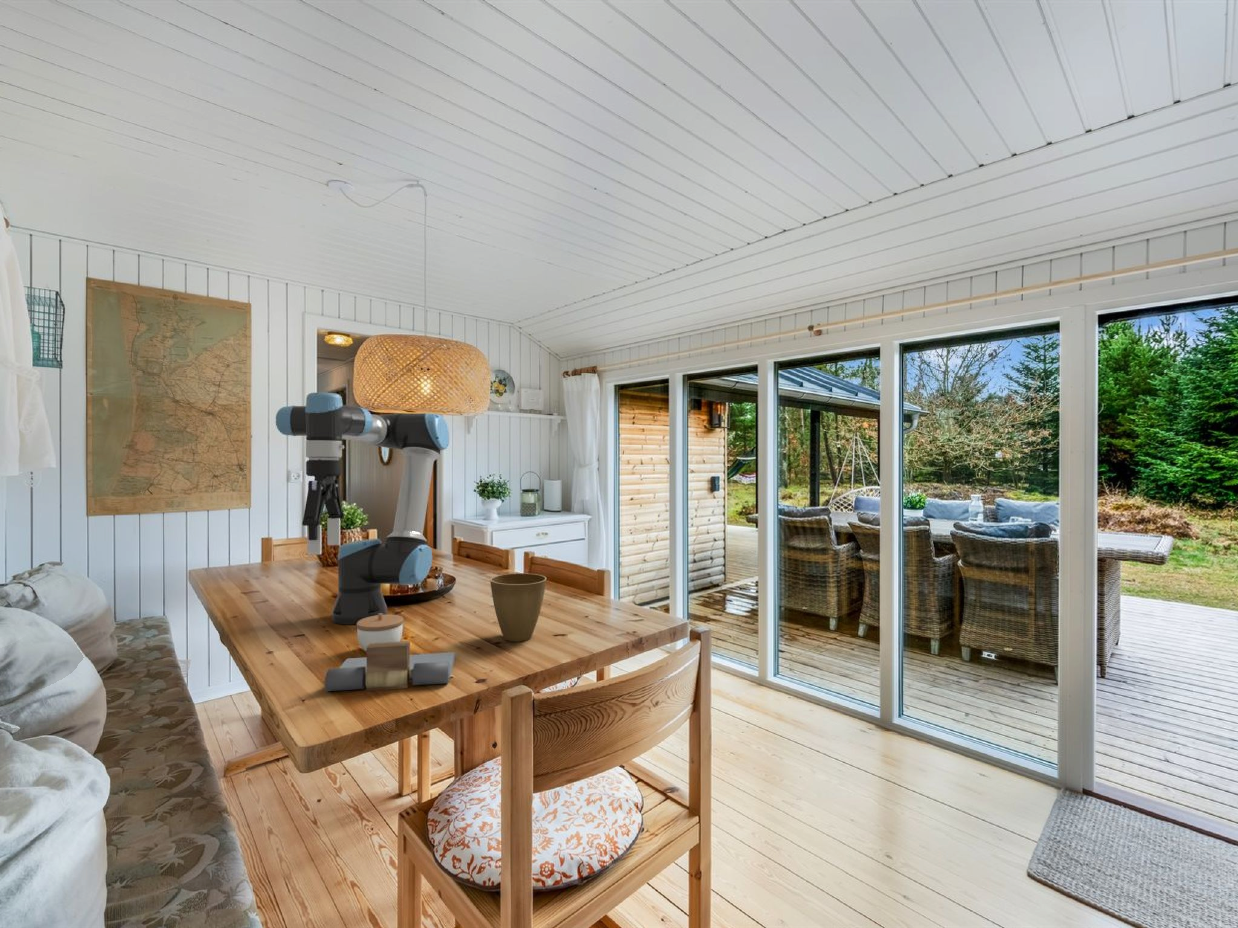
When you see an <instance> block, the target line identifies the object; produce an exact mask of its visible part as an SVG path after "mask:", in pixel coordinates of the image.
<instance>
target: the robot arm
mask: <svg viewBox="0 0 1238 928" xmlns="http://www.w3.org/2000/svg"><path fill="white" fill-rule="evenodd" d="M342 398H343V397H342V396H341V395H340V394H339V393H335V392H334V393H333V392H310V393H308V394H307V395H306V401H305V405H303V406H302V405H297V406H296V405H291V406H283V407H281V408H279V410H277V412H276V415H275V426H276V428H277V430H278V432H280V434H282V435H285V436H292V437H298V436H300V437H301V436H304V437H305V457H306V458H307V459H308V460H306V461H305V475H306V476H307V477H314V480H308V483H307V485H308V486H307V493H306V494H307V495H306V499H305V500H306V501H305V506H304V513H303V519H302V522H301V524H302V526H303V527H304V526H306V542H307V543H306V545H307V546H306V551H307V552H306V554H307V555H308V556H313V555H314V556H316V555H322V554H323V553H322V552H323V551H322V541H323V540H322V524H321V519H322V515H323V512H324V508H326V512H327V515H328V518H327V519H326V521H327V525H326V527H327V534H326V535H327V538H326V539H327V544H326V545H327V546H339V549H338V555H337V570H338V571H337V573H338V575H337V578H338V583H337V584H338V590H337V591H338V592H337V593H338V594H337V597H336V600H335V602H334V606H333V609H332V611H331V621H332V622H333V623H335V624H339V625H357V622H358V621H359V620H361V619H364V618H367V617H371V616H376V615H378V614H379V613H382V614H383V615H388V606H387V603H386V602H385V598H384V596H383V595H384V594H383V592H382V587H381V586H382V585H383V584H384V585H387V584H388V585H403V586H408V585H418V584H420V583H422V582H423V581H424V580H425V578H427V576H428V575H429V573H430V571H431V567H432V563H433V555H432V554H433V550H432V548H431V547H430V545H428V544H427V543H428V540H427V539H426V538H425V536H424V534H423V533H424V528H425V523H426V516H427V515H426V514H427V508H428V502H429V495H430V489H431V482H432V475H433V470H434V467H433V466H434V463H435V461H436V460H437V459H439V458H440V456H441V455H440V454H441V451H444V450H446V449H448V447H449V445H450V444H449V443H450V432H449V427H448V423H447V422H446V419H445V418H444V417H443V416H442V415H440V414H439V413H430V412H424V413H418V412H417V413H388V414H373V413H372V414H371V412H370V411H369V410H368V409H366V408H365V407H364V408H363V407H360V406H358V405H355V406H354V405H346V404H343V399H342ZM342 440H347V441H358V442H362V443H364V444H365V445H368V446H375V447H381V448H385V449H386V448H387V449H392V450H400V453H401V454H402V455H403V456H404V457H405V458H404V464H403V470H402V473H401V475H402V476H401V482H400V487H399V494H398V500H397V506H396V512H395V517H394V518H395V519H394V524H393V530H392V532H391V533H390V534H389V535H387V536H386V539H385V543H384V544H382V541H381V539H380V538H371V539H362V540H356V541H352V542H347V543H343V544H342V545H341V519H342V518H343V519H344V517H345V514H344V509H343V504H342V496H341V491H340V490H341V489H340V479H339V478H335V477H339V476H342V474H343V461H342V460H340V458H342V457H343V450H344V449H345V445H344V444H343V441H342Z"/></svg>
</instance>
